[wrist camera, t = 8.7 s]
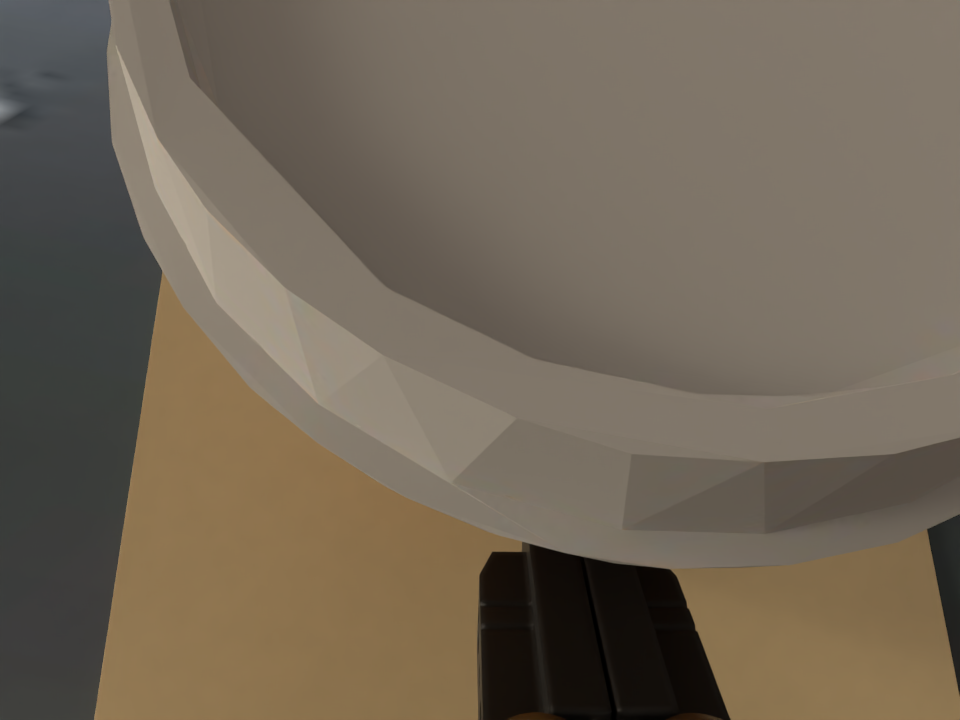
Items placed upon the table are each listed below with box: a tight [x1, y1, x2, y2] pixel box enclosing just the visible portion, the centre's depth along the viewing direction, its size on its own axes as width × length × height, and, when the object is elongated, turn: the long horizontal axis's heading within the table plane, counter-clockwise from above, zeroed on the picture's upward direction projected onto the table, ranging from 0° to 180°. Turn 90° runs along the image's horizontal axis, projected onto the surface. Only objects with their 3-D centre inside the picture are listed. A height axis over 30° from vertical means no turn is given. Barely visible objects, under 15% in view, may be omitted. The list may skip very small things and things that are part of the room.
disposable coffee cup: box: [107, 0, 960, 569], centre depth 11 cm, size 10×10×12 cm
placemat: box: [94, 273, 960, 720], centre depth 19 cm, size 17×34×1 cm, turn 0°
